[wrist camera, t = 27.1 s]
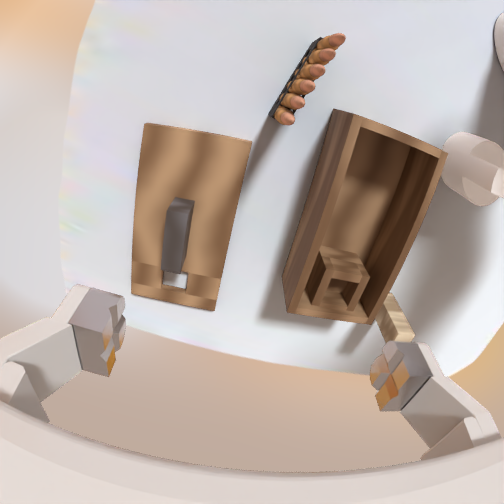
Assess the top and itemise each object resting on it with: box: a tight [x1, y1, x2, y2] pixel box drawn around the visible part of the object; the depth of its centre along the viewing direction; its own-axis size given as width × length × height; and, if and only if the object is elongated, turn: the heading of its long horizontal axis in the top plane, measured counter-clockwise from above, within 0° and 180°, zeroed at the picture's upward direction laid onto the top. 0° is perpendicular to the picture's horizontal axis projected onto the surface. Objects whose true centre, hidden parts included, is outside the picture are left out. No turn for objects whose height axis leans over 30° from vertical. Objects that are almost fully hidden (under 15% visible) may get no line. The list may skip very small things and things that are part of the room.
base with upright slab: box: [441, 132, 504, 206], centre depth 31 cm, size 9×9×12 cm
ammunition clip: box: [269, 33, 346, 125], centre depth 27 cm, size 11×2×12 cm, turn 151°
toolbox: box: [282, 109, 448, 325], centre depth 36 cm, size 12×24×8 cm, turn 167°
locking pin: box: [375, 293, 415, 343], centre depth 43 cm, size 3×3×10 cm
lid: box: [131, 123, 252, 311], centre depth 39 cm, size 13×25×6 cm, turn 167°
